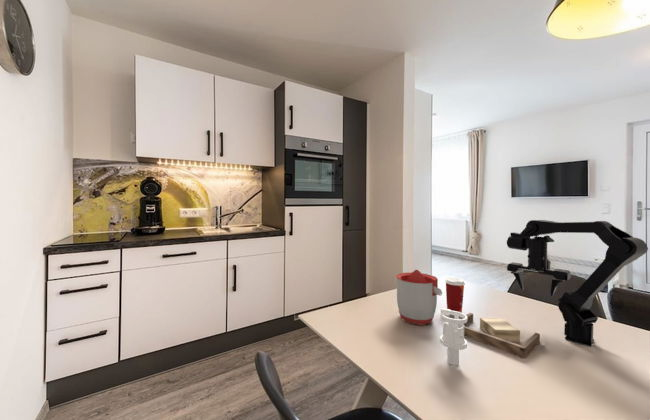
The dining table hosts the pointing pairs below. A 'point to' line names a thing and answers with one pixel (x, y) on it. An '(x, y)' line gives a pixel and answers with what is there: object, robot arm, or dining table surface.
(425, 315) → the citrus juicer
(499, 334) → the cream rectangular block
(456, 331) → the white flanged plastic holder
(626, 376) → the dining table surface
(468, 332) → the brown angled piece
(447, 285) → the paper cup
